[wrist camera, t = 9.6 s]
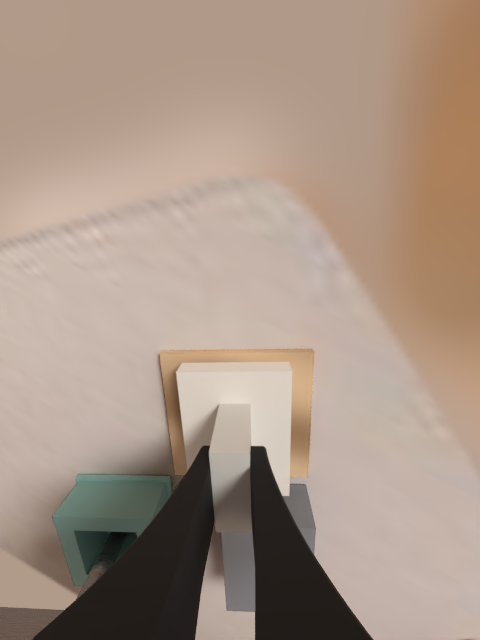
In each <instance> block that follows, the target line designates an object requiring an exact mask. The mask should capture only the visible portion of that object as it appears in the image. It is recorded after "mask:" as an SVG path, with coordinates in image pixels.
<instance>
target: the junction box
mask: <svg viewBox="0 0 480 640" xmlns="http://www.w3.org/2000/svg"><path fill="white" fill-rule="evenodd" d="M283 498H284V500H285V503H286V505H287V507H288V509H289V511H290V513H291V515H292V517H293V519H294V521H295V523H296V525H297V526H298V528H299V530H300V532H301V534H302V535H303V537H304V539H305V541H306V542H307V544H308V546H309V547H310V549H311V551H312V553H313V554H314V547H315V532H316V527H315V523H314V518H313V514H312V509H311V505H310V501H309V496H308V492H307V487H306V485H301V484H290V490H289V496H283ZM221 540H222V554H223V567H224V581H225V595H226V609H227V611H247V612H255V561H254V547H253V534H252V533H223V532H221Z"/></svg>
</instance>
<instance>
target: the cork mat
mask: <svg viewBox="0 0 480 640" xmlns="http://www.w3.org/2000/svg"><path fill="white" fill-rule="evenodd" d="M159 356H160V363H161V371H162V379H163V387H164V394H165V402H166V410H167V417H168V425H169V433H170V440H171V448H172V456H173V464H174V471H175V475H185V474H186V473H187V463H186V454H185V445H184V437H183V428H182V420H181V411H180V402H179V394H178V385H177V376H176V371H177V370H178V368H179V367H180V365H181V363H217V362H289V363H290V366H291V369H292V404H291V447H290V477H308V466H309V447H310V428H311V408H312V389H313V370H314V351H313V349H275V350H187V351H161V352H160V353H159Z"/></svg>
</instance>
